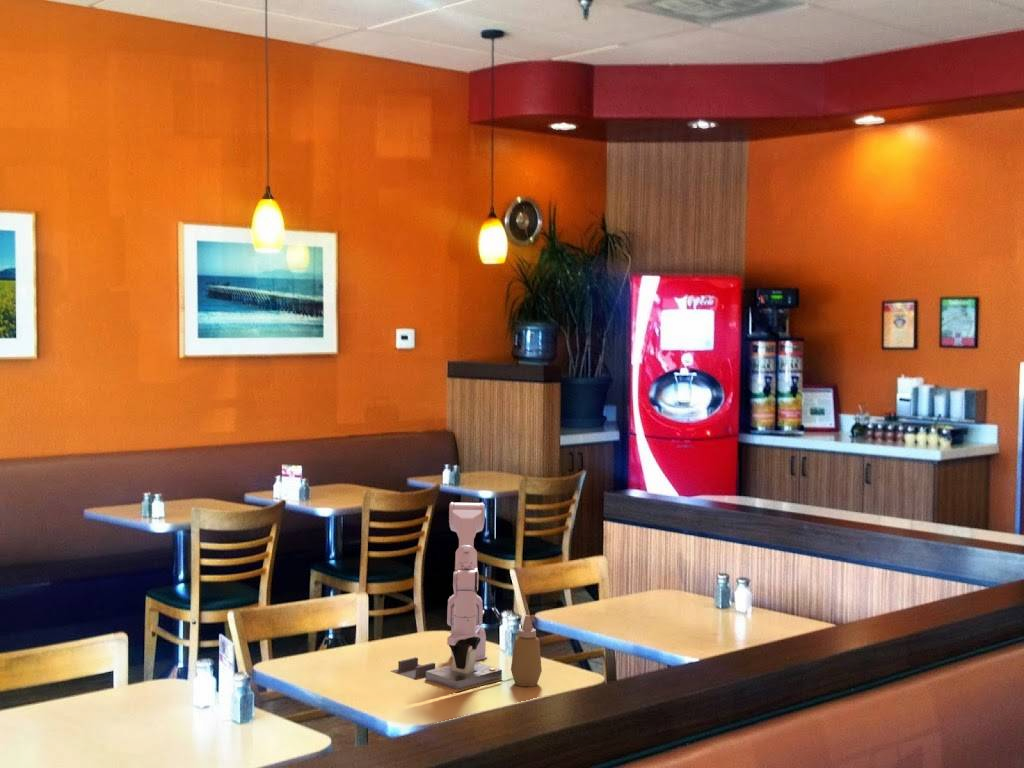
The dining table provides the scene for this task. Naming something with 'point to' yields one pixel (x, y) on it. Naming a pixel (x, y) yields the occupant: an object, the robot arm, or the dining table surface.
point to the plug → (469, 662)
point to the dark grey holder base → (413, 668)
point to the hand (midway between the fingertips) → (464, 666)
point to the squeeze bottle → (526, 656)
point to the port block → (464, 676)
